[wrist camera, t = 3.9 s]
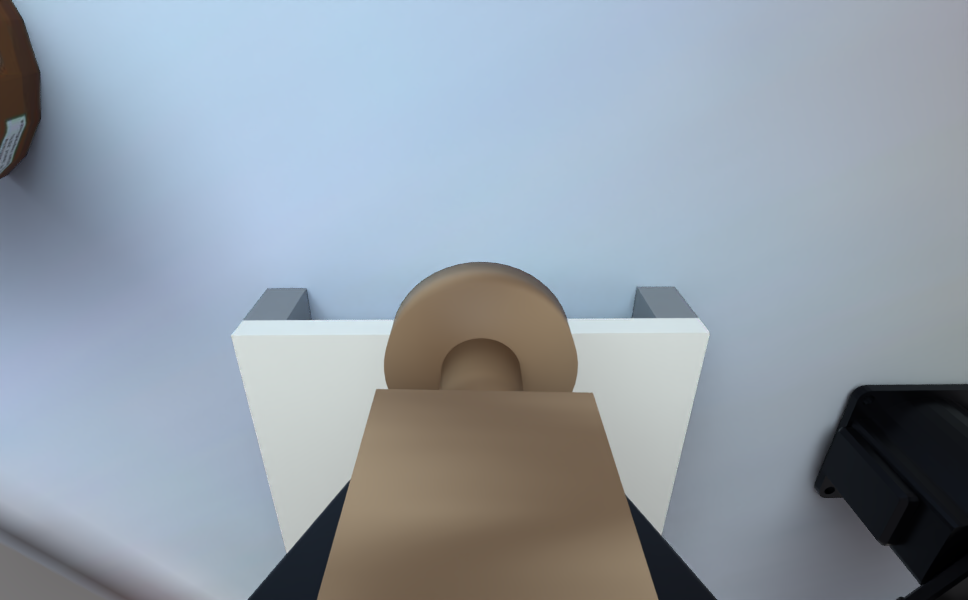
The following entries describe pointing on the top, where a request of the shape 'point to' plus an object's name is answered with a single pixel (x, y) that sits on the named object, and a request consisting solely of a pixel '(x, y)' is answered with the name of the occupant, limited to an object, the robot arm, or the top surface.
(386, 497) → the T-peg
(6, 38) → the food container
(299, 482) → the keyhole plate
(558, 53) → the top surface
